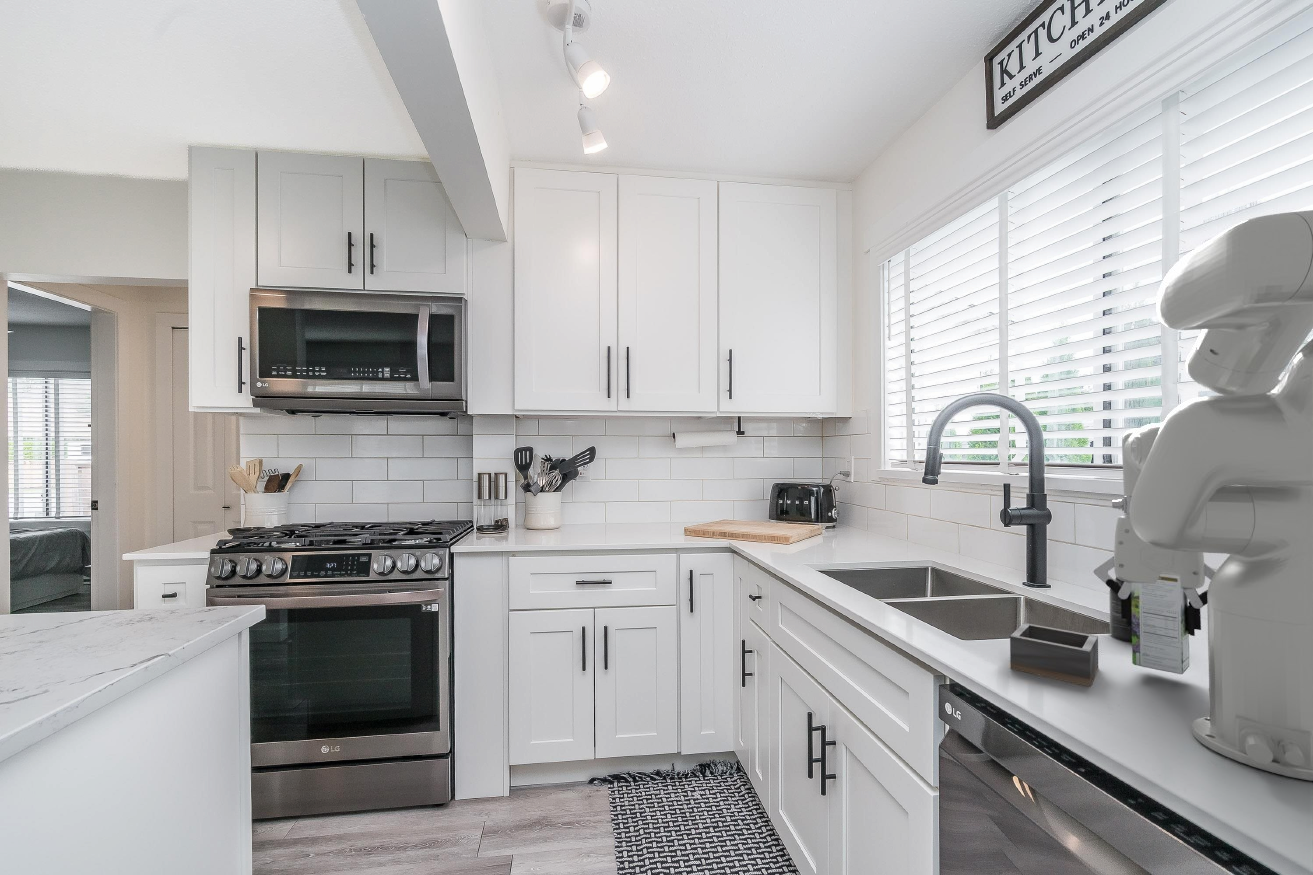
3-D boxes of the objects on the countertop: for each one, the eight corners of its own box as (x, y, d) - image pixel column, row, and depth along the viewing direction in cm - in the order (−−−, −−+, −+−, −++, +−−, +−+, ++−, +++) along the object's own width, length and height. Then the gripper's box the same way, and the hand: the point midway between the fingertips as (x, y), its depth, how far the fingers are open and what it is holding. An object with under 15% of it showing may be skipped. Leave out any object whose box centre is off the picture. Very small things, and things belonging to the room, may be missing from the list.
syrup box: (1140, 657, 89) (1137, 564, 90) (1191, 668, 85) (1187, 569, 86) (1132, 665, 86) (1128, 567, 87) (1185, 676, 81) (1180, 573, 82)
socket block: (1090, 686, 82) (1089, 651, 82) (1010, 668, 89) (1010, 636, 89) (1098, 667, 89) (1097, 635, 90) (1023, 652, 96) (1023, 622, 96)
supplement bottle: (1166, 646, 100) (1165, 578, 100) (1119, 642, 102) (1118, 575, 102) (1147, 635, 106) (1146, 570, 107) (1103, 631, 109) (1102, 568, 109)
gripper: (1082, 506, 90) (1085, 622, 89) (1238, 513, 78) (1244, 647, 77) (1088, 505, 95) (1091, 614, 94) (1235, 511, 83) (1241, 636, 82)
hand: (1160, 628), depth 86 cm, fingers closed on syrup box, 6 cm apart
